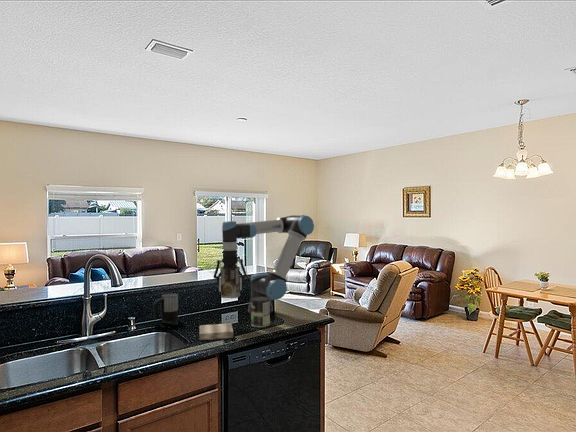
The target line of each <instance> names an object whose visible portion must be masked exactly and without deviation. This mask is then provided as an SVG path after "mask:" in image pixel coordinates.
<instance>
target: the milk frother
mask: <svg viewBox="0 0 576 432" xmlns="http://www.w3.org/2000/svg"><path fill="white" fill-rule="evenodd" d="M159 304H161V307H160V308H161V309H160V310H161V313H160V314H161V315H160V316H161V323H163V324H169V325H171V326H172V327H175V326H176V325H177V326H178V325H179V320H180V319H179V294H178V293H165V294H162V295H161V297H160V298H158V299H155V301H153V304H152V306H153V308H152V309H153V319H154V320H156V321H157V320H159V319H160V318H159Z"/></svg>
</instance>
